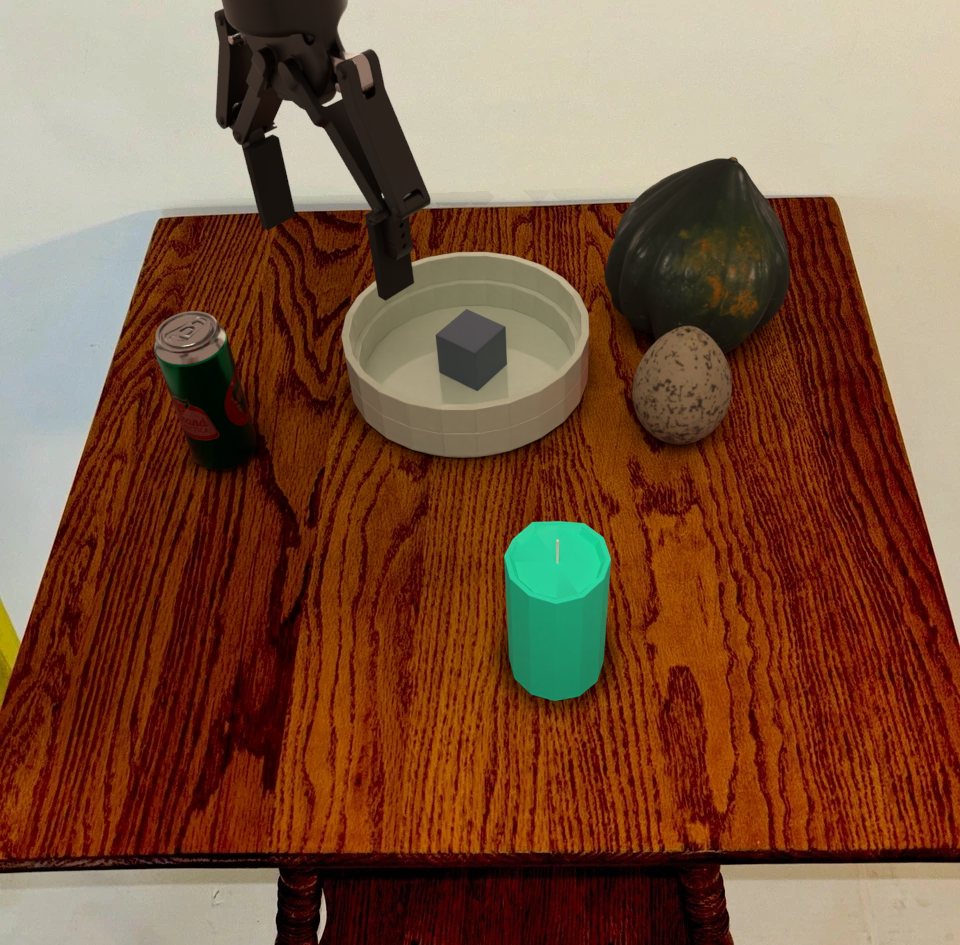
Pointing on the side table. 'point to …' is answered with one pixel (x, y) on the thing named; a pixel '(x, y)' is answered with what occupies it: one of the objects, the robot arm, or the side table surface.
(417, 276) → the bowl
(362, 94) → the robot arm
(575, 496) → the side table surface
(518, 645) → the candle
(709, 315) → the squash
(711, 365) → the decorative egg
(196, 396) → the soda can
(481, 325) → the block
